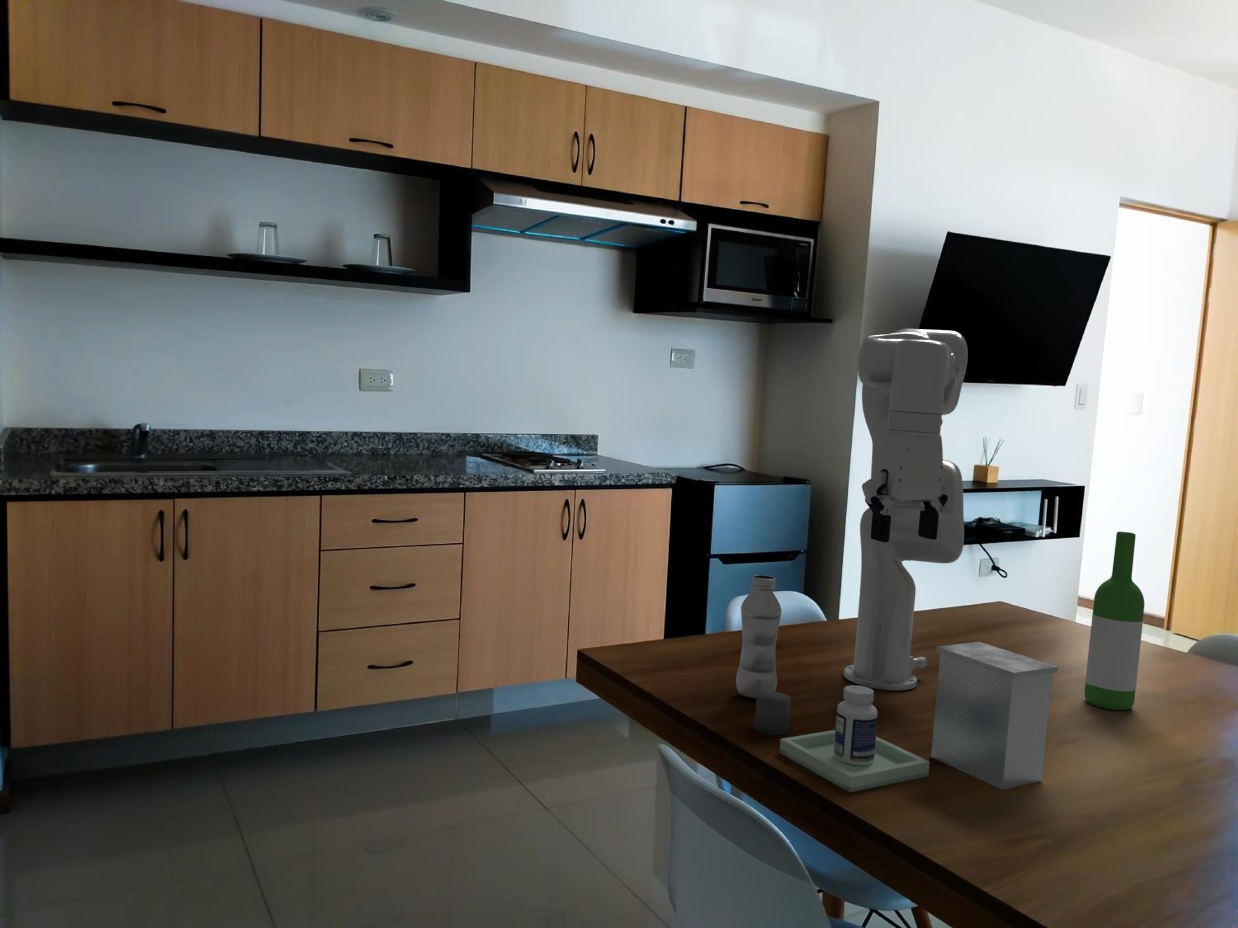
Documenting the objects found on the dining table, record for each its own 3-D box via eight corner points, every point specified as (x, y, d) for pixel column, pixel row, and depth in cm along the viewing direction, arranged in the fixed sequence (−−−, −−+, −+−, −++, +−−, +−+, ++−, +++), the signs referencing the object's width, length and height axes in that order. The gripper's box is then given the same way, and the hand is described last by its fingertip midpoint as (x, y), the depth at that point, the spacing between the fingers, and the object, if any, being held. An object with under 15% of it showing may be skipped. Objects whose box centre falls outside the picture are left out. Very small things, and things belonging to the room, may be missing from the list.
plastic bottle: (775, 705, 154) (784, 582, 152) (732, 700, 155) (741, 578, 154) (776, 693, 160) (785, 575, 159) (736, 688, 161) (744, 571, 160)
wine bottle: (1114, 714, 161) (1133, 536, 158) (1073, 699, 167) (1090, 529, 165) (1143, 709, 164) (1162, 536, 162) (1102, 695, 171) (1119, 528, 169)
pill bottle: (879, 758, 132) (885, 689, 131) (866, 770, 128) (872, 698, 127) (841, 748, 135) (846, 680, 134) (827, 759, 130) (832, 689, 130)
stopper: (773, 721, 146) (776, 689, 146) (795, 732, 142) (798, 699, 142) (747, 725, 144) (750, 693, 143) (768, 737, 140) (771, 703, 139)
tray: (854, 739, 141) (855, 726, 140) (928, 776, 128) (929, 761, 128) (779, 752, 134) (780, 738, 133) (850, 792, 121) (851, 776, 121)
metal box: (969, 747, 140) (979, 641, 139) (1046, 781, 129) (1058, 666, 128) (926, 755, 136) (936, 646, 135) (1002, 791, 125) (1014, 672, 124)
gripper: (936, 423, 148) (926, 532, 150) (851, 421, 140) (842, 537, 142) (975, 427, 142) (964, 541, 144) (889, 425, 133) (878, 546, 135)
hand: (903, 539), depth 143 cm, fingers open, 9 cm apart
